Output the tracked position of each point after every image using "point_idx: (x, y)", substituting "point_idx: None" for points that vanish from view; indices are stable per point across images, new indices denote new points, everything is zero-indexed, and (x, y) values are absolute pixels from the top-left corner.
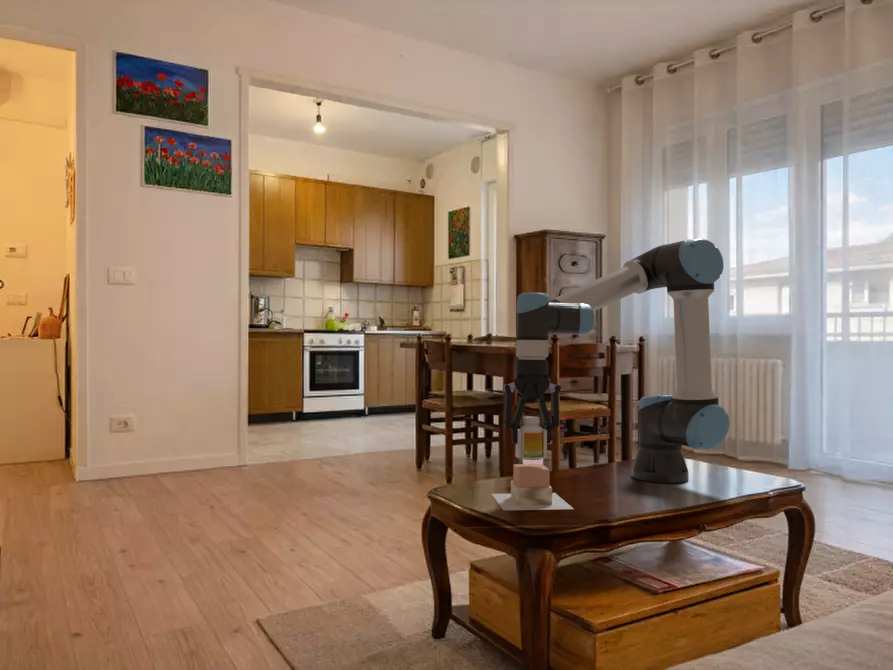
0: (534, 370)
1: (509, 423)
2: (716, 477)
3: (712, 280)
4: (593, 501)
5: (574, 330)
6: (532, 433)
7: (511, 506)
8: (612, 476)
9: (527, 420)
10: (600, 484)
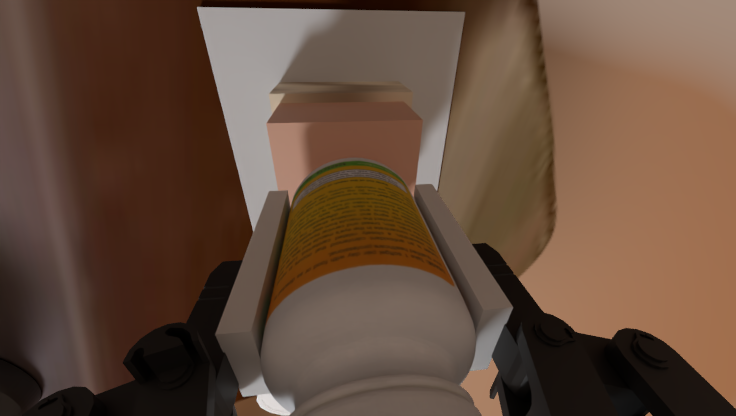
0: None
1: (650, 366)
2: None
3: None
4: (127, 149)
5: None
6: (385, 259)
7: (422, 68)
8: (95, 383)
9: None
10: (121, 323)
